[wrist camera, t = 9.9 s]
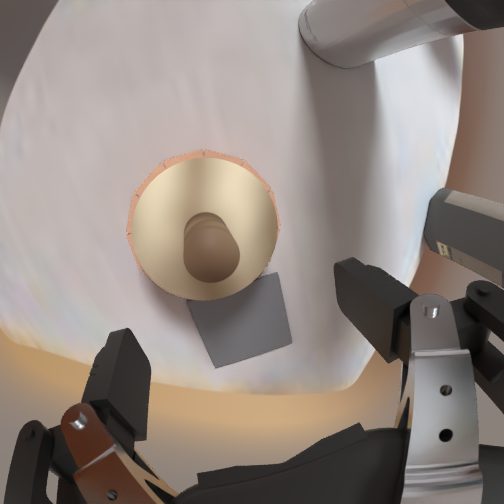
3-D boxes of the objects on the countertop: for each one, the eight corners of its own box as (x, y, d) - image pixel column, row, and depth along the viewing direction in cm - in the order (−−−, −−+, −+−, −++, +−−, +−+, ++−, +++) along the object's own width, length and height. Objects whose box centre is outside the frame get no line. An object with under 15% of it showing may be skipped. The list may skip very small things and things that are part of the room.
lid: (256, 142, 20) (283, 136, 14) (284, 271, 24) (314, 305, 18) (116, 183, 18) (89, 194, 13) (162, 308, 22) (158, 354, 17)
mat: (276, 272, 29) (278, 273, 29) (291, 340, 33) (292, 342, 33) (186, 300, 28) (186, 302, 28) (215, 365, 32) (215, 367, 31)
